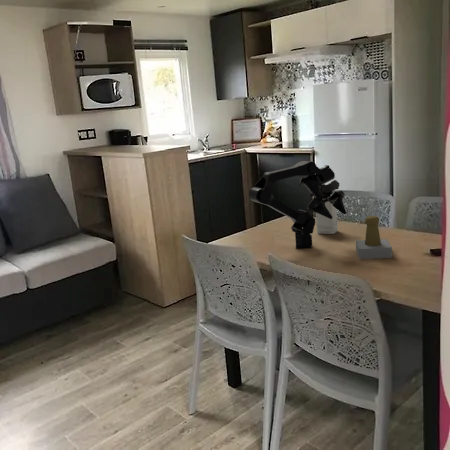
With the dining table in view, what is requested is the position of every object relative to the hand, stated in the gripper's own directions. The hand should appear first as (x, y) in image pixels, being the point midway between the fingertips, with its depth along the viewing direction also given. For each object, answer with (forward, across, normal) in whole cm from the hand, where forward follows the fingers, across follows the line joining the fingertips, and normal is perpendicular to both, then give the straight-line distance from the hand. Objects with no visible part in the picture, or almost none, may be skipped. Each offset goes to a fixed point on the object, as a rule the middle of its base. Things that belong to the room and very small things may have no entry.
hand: (338, 216), depth 202 cm
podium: (+21, 0, -1) cm, 21 cm away
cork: (+18, 0, -4) cm, 18 cm away
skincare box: (-4, +17, +24) cm, 30 cm away
